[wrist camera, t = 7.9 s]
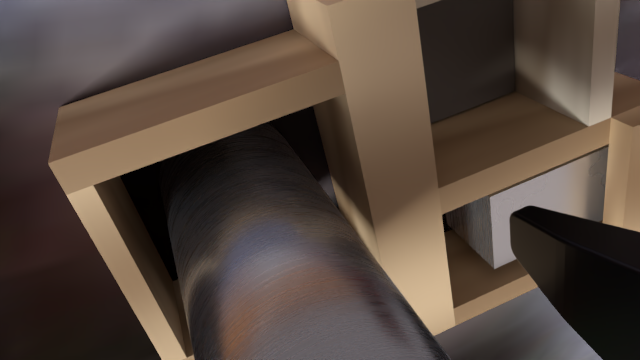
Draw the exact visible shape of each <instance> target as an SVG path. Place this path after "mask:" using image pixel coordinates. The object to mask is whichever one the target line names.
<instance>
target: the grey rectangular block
mask: <svg viewBox="0 0 640 360" xmlns="http://www.w3.org/2000/svg"><path fill="white" fill-rule="evenodd" d="M608 148H609V144H607V145H605V146H603V147H600V148H598V149H596V150H593V151H591V152H588V153H586V154H584V155H581V156H579V157H577V158H574V159H572V160H570V161H567V162H565V163H563V164H560V165H558V166H555V167H553V168H551V169H548V170H546V171H544V172H541V173H539V174H537V175H534V176H532V177H529V178H527V179H525V180H522V181H520V182H518V183H515V184H513V185H511V186H508V187H506V188H504V189H501V190H499V191H496V192H494V193H492V194H489V195H487V196H485V197H482V198H480V199H478V200H475V201H473V202H470V203H468V204H466V205H463V206H461V207H459V208H456V209H454V210H452V211H449V212H447V213H445V214H446V222H447V224H448V225H449V226H450V227H451V228H452V229H453V230H454V231H455V232H456V233H457V234H458V235H459V236H460V237H461V238H463V239H464V240H465V241H466V242H467V243H468V244H469V245H470V246H471V247H472V248H473V249H474V250H475V251H476V252H477V253H478V254H479V255H480V256H481V257H482V258H483V259H484V260H485V261H486V262H488V263H489V264H490V265H491V266H492V267H493V268H494V269H496V268H498V267H500V266H502V265H505V264H507V263H509V262H511V261H513V260H516V257H515V256H514V254H513V252H512V249H511V245H510V223H509V219H510V215H511V213H513V212H514V211H516V210H519V209H521V208H523V207H526V206H529V205H532V206H537V207H541V208H545V209H549V210H553V211H557V212H561V213H565V214H569V215H573V216H577V217H581V218H585V219H589V220H593V221H597V222H599V221H601V220H603V211H604V199H605V186H606V173H607V161H608Z"/></svg>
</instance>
